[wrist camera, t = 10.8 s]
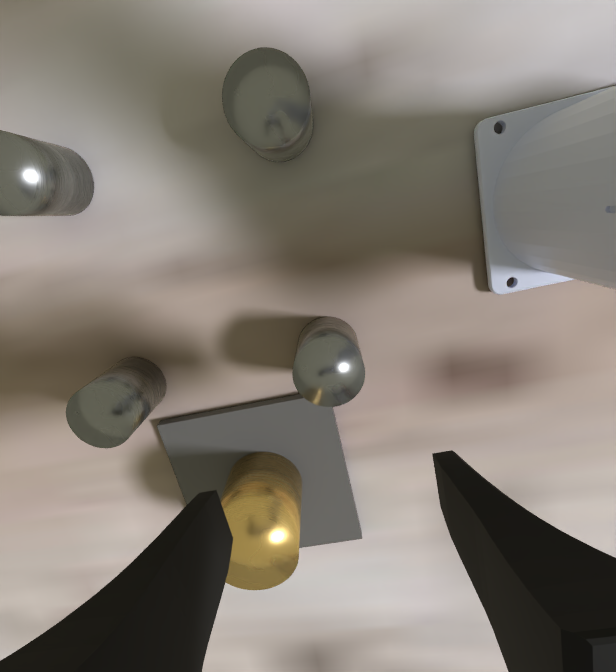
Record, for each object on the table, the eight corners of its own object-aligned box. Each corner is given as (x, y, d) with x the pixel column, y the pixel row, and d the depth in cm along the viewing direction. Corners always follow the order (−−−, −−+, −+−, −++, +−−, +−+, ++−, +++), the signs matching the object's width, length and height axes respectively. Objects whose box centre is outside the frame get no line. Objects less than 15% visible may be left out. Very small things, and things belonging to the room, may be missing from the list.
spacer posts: (304, 75, 17) (298, 36, 14) (362, 366, 21) (370, 399, 17) (18, 154, 19) (-60, 139, 15) (122, 413, 23) (81, 453, 19)
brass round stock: (289, 444, 22) (282, 506, 17) (311, 505, 23) (310, 579, 19) (217, 461, 23) (191, 527, 18) (242, 521, 24) (224, 597, 19)
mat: (328, 388, 22) (328, 393, 21) (361, 531, 25) (362, 538, 24) (161, 420, 23) (156, 425, 22) (210, 553, 26) (208, 561, 25)
